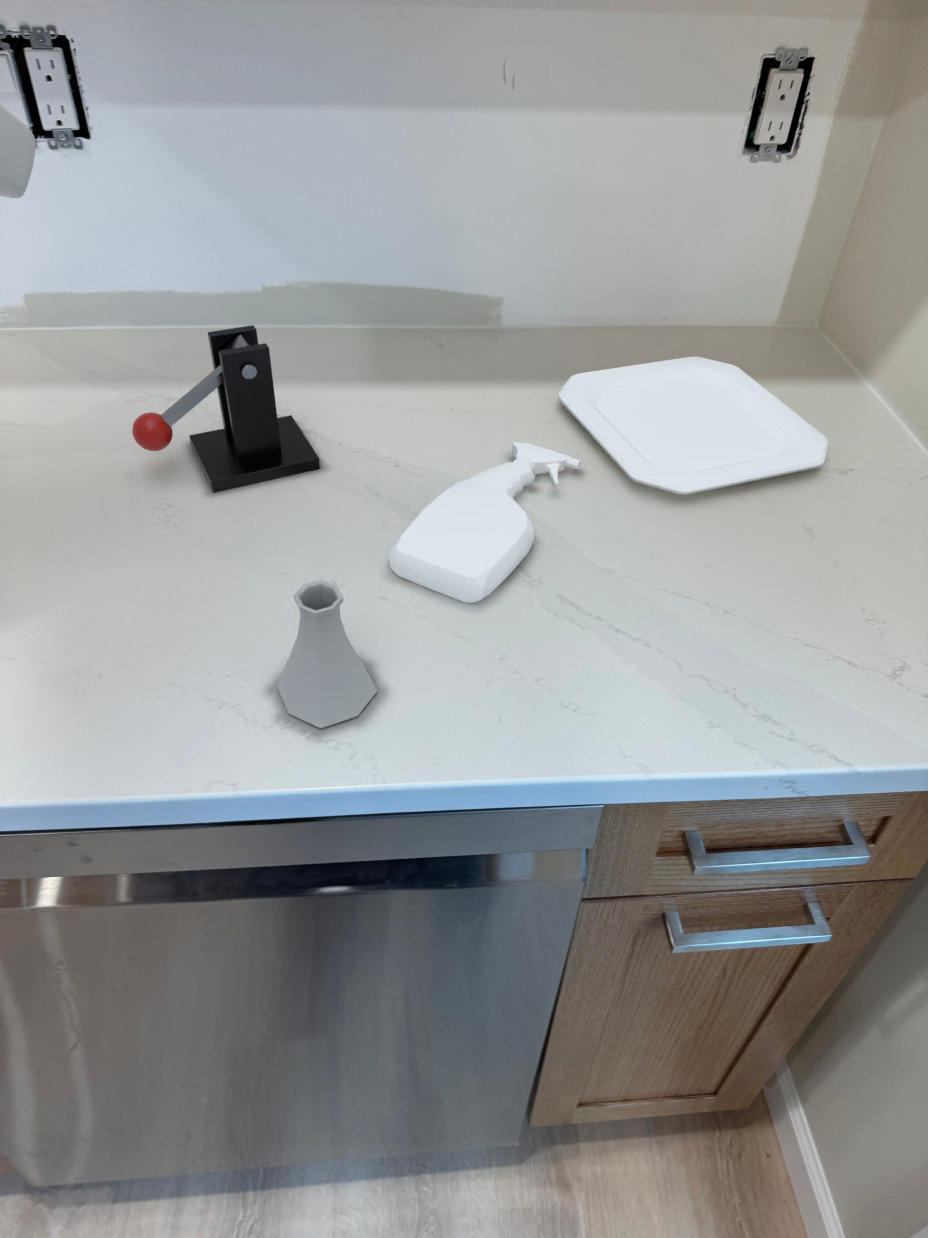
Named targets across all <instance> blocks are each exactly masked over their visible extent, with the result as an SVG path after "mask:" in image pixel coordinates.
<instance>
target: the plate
mask: <svg viewBox="0 0 928 1238" xmlns="http://www.w3.org/2000/svg"><path fill="white" fill-rule="evenodd" d="M557 396H558V400H559V401H560V403H561V404H562V405H563V406H564V407H565V408H566V410H568V412H570V414H571V415H572V416H573V417H574V418H575V419H576V421H578V423H580V425H581V426H582V427H583V428H584V429H585V430H586V432H588V433H589V435H590V436H591V437H592V438H593V440H595V441H596V442H597V444H599V446H600V447H601V448H602V449H603V450H604V451H605V452H606V454H607V455H609V457H610V458H611V460H613V461H614V462H615V463H616V464H617V465H618V467H619V468H620V469H621V470H622V471H623V473H625V474H626V476H627V477H628V478H629V479H630V480H632V481H634V482H635V483H638V484H641V485H645V486H648V487H651V488H655V489H659V490H662V491H666V492H670V493H673V494H676V495H677V494H678V495H685V496H689V495H693V494H697V493H702V492H703V493H704V492H708V491H712V490H717V489H721V488H727V487H731V486H736V485H741V484H745V483H751V482H756V481H760V480H765V479H770V478H775V477H778V476H779V477H781V476H784V475H788V474H794V473H798V472H804V471H808V470H812V469H813V470H814V469H818V468H820V467H822V466H823V465H824V464H825V461H826V456H827V451H828V447H829V446H828V445H829V440H828V438H827V437H826V436H825V435H824V434H823V433H822V432H821V431H819V430H818V429H816V427H814V426H813V425H811V424H810V423H809V422H808V421H806V420H805V419H804V418H802V417H801V416H800V415H799V414H797V412H795V411H794V410H793V409H791V408H790V407H789V406H787V404H785V403H784V402H782V401H781V400H780V399H779V398H778V397H776V396H775V395H774V394H772V393H771V392H770V391H769V390H768V389H766V388H765V387H764V386H762V385H761V384H760V383H759V382H757V381H756V380H755V379H753V377H751V376H750V375H749V374H748V373H746V372H745V371H744V370H742V369H741V368H740V367H738V366H737V365H735V364H732V363H728V362H727V363H726V362H722V361H718V360H713V359H711V358H705V357H703V356H694V355H693V356H687V357H680V358H674V359H673V358H672V359H665V360H660V361H659V360H658V361H654V362H653V361H652V362H647V363H639V364H633V365H627V366H620V367H613V368H606V369H600V370H594V371H587V372H579V373H576V374H573V375H571V376H570V377H569V378H568V379H567V381H566V382H565V384H564V385H563V386H562V387H561V389H560V390H559V392H558V394H557Z"/></svg>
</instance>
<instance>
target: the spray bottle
mask: <svg viewBox="0 0 928 1238" xmlns="http://www.w3.org/2000/svg"><path fill="white" fill-rule="evenodd" d="M511 454H512V455H513V456H514V457H515V459H514V460H513V461H506V462H504V463H501V464H498V465H496V466H493V467H490V468H487V469H485V470H483V471H480V472H478V473H476V474H474V475H473V476H471V477H469V478H466V479H464V480H460V481H458V482H456V483H454V484H452V486H450V487H448V488H447V489H445V490H444V491H442V492H441V493H440V494H438V495H437V496H436V497H435V498H433V499H432V501H430V502H429V503H428V504H427V505H426V506H425V507H424V508H423V509H421V510H420V511H419V512H418V514H417V515H416V516H415V517H414V518H413V519H412V520H411V522H410V523H409V525H407V527H406V528H405V529H404V531H403V532H402V533H401V534H400V536H399V537H398V538H397V539H396V541H395V542H394V543H393V544H392V546H391V547H390V550H389V554H388V557H387V558H388V561H389V566H390V569H391V571H392V572H393V573H394V574H395V575H396V576H398V577H399V578H402V579H403V580H404V579H405V580H406V581H409V582H412V583H415V584H417V585H420V586H422V587H424V588H427V589H430V590H432V591H434V592H437V593H440V594H442V595H445V596H447V597H449V598H452V599H455V600H457V601H459V602H462V603H466V604H467V603H468V604H469V603H470V604H474V603H478V602H479V601H481V600H483V599H484V598H486V597H488V596H489V595H490V594H491V593H492V592H494V590H496V589H497V588H498V586H499V585H500V584H502V583H503V582H504V581H505V580H506V579H507V578H508V577H509V575H510V574H511V573H512V572H513V571H514V570H515V569H516V568H517V567H518V566H519V564H520V563H521V562H522V561H523V559H524V558H525V557H526V556H527V555H528V554H529V552H530V550H531V548H532V547H533V544H534V541H535V538H536V534H535V529H534V524H533V523H532V521H531V519H530V517H529V515H528V514H527V513H526V511H525V510H524V509H523V507H521V506H520V505H519V504H518V503H517V502H516V500H515V499H516V496H517V495H519V494H520V493H522V492H523V489H524V488H526V487H527V488H528V487H529V486H531V485H532V484H533V483H534V482H535V479H536V475H540V474H544V473H545V474H546V473H549V476H550V478H551V481H552V483H553V485H554V486H555V487H559V478H558V475H559V474H558V473H559V472H563V471H564V470H566V469H567V468H568V469H571V470H574V471H579V469H580V467H581V464H582V460H579V459H577V458H574V457H571V455H569V454H565V453H562V452H558V451H555V450H552V449H549V448H546V447H542V446H539V445H536V444H533V443H526V442H515V441H513V442H512V446H511Z"/></svg>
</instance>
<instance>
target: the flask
mask: <svg viewBox="0 0 928 1238" xmlns="http://www.w3.org/2000/svg"><path fill="white" fill-rule="evenodd" d="M293 598H294V601H295V603H296V605H297V607H298V609H299V616H300V617H299V625H298V629H297V630H298V631H297V635H296V638H295V640H294V644H293V646H292V649H291V652H290V654H289V657H288V659H287V662H286V664H285V666H284V669H283V670H282V673H281V675H280V677H279V680H278V683H277V686H276V687H277V690H278V692H279V694H280V698H281V700H282V701H283V704H284V706H285V709H286V711H287V713H288V714H289V715H292V716H293V717H295V718H297V719H300V720H301V721H304V722H306V723H308V724H310V725H312V726H314V727H316V728H318V729H323V728H327V727H330V726H332V725H335V724H338V723H340V722H341V723H342V722H344V721H348V720H350V719H353V718H356V717H358V716H359V715H360V714H361V712H362V711H363V710H364V709H365V707H367V705H368V703H369V702H370V701H371V700H372V699H373V697H374V696H375V695H376V693H377V692H378V688H377V687H376V685H375V684H374V682H373V679H372V678H371V675H370V674H369V672H368V670H367V668H366V666H365V664H364V663H363V660H362V659H361V658H360V655H359V654H358V653H357V651H356V649H355V648H354V646H353V645H352V643H351V642H350V640H349V638H348V635H347V634H346V630H345V628H344V624H343V622H342V619H341V605H342V604H343V603H344V596H343V594H342V592H341V590H340V589H339V586H338V585H336V584H334V583H331V582H329V581H326V580H324V579H318V580H315V581H312V582H308V583H304V584H303V585H302V586H301V587H300V588H299V589H298V590H297V591H296V592H295V593H294V594H293Z"/></svg>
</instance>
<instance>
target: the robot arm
mask: <svg viewBox="0 0 928 1238" xmlns="http://www.w3.org/2000/svg"><path fill="white" fill-rule="evenodd" d="M35 158H36V139H35V136H34V134H33V132H32V130H31V129H30V128H29V127H28V126H27V125H26V124H25V123H24V122H22V121H21V120H20V119H19V118H18V117H16V115H14V114H13V113H12V112H11V111H9V110H8V109H7V108H5V107H4V106H3V105H2V104H1V103H0V197H3V198H10V199H19V198H22V197H23V196H24V195H25V193H26V192H27V189H28V186H29V182H30V179H31V176H32V172H33V168H34V162H35Z"/></svg>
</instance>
